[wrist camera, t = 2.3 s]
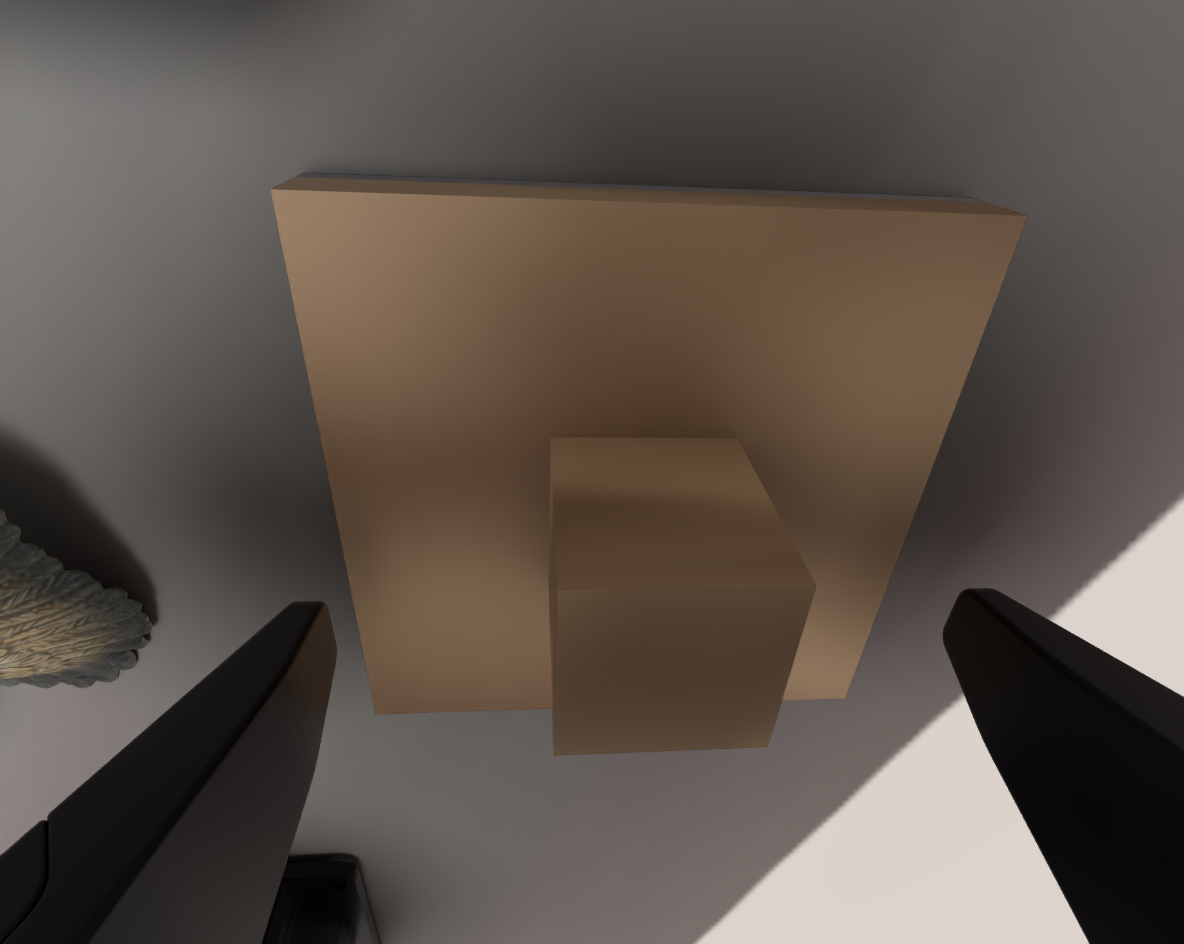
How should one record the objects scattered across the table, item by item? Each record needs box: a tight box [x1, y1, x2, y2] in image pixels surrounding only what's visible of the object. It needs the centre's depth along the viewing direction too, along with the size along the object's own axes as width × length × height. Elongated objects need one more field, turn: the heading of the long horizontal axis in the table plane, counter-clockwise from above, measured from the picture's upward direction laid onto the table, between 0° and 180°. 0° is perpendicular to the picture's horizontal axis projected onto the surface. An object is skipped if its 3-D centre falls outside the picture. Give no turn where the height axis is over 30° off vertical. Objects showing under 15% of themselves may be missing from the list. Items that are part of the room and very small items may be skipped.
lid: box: [270, 177, 1028, 756], centre depth 10 cm, size 10×10×4 cm
